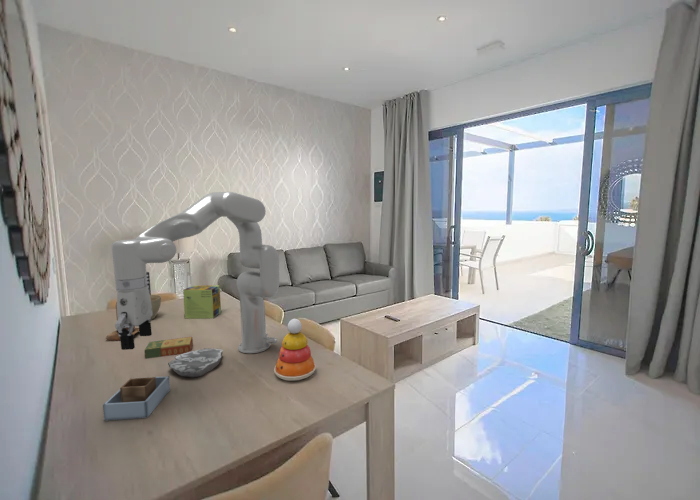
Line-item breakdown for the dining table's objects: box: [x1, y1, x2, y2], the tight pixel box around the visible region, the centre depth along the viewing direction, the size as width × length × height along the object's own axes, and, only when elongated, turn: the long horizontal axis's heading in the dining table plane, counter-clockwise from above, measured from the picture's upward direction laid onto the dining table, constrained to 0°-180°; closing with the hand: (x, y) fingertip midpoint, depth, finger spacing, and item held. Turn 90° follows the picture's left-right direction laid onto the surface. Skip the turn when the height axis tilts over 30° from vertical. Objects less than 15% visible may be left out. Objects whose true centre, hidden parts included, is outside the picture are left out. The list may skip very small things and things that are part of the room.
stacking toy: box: [273, 318, 317, 382], centre depth 116 cm, size 14×14×20 cm
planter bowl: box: [150, 294, 162, 320], centre depth 177 cm, size 16×16×11 cm
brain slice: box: [167, 348, 224, 378], centre depth 122 cm, size 20×17×3 cm
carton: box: [143, 336, 194, 359], centre depth 136 cm, size 8×16×4 cm, turn 109°
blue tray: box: [102, 375, 171, 421], centre depth 99 cm, size 11×14×4 cm
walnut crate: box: [119, 376, 156, 403], centre depth 99 cm, size 7×6×6 cm
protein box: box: [182, 284, 222, 320], centre depth 181 cm, size 10×15×16 cm
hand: (137, 342), depth 98 cm, fingers open, 9 cm apart
